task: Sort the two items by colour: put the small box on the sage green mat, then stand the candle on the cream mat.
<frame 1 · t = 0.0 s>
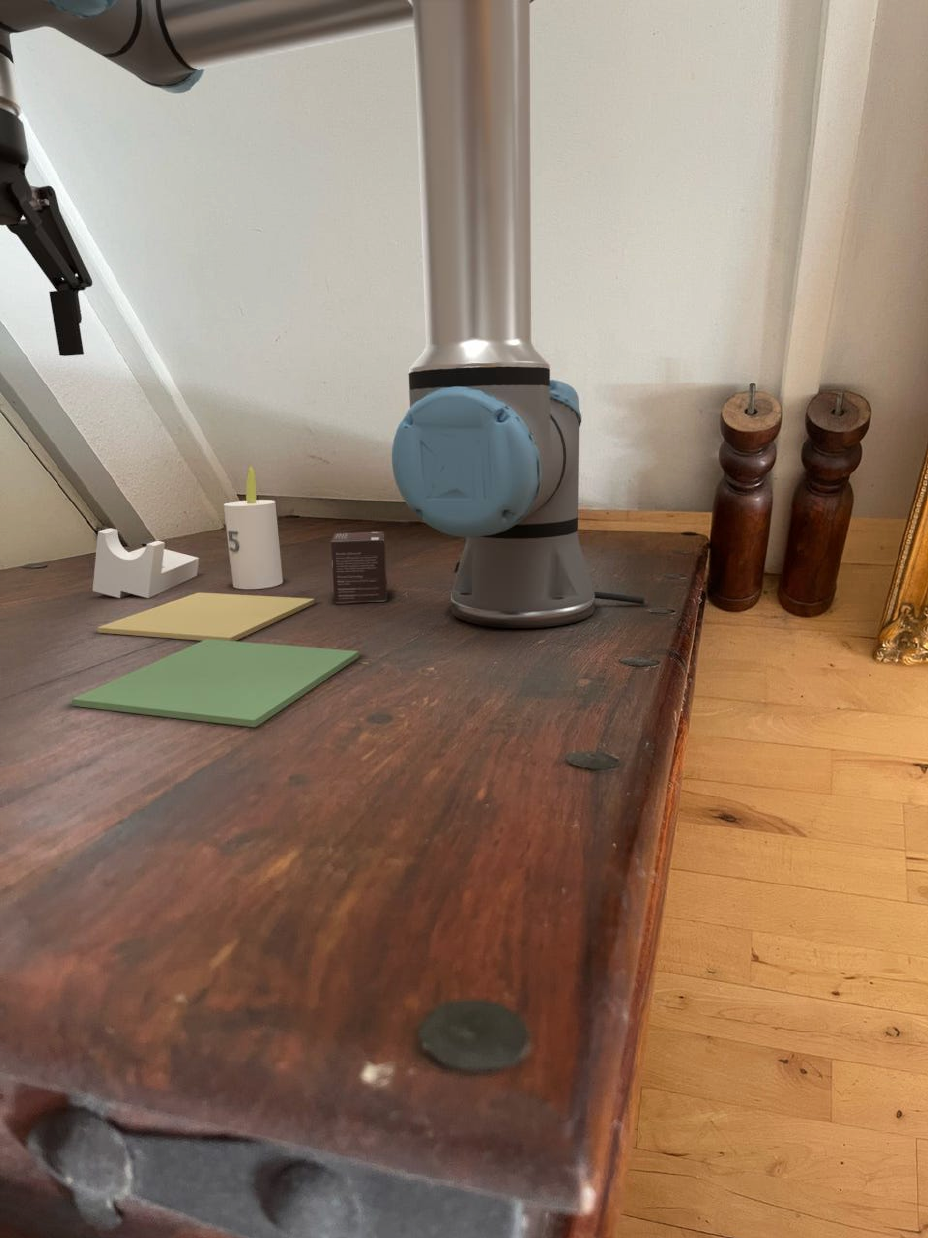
hand: (18, 350, 76), 28 cm above the table, tool pointing down, fingers open, 13 cm apart
cream mat: (213, 617, 81), on the table
green mat: (227, 679, 61), on the table
bracket: (154, 587, 97), on the table
box: (362, 599, 88), on the table
candle: (257, 585, 97), on the table
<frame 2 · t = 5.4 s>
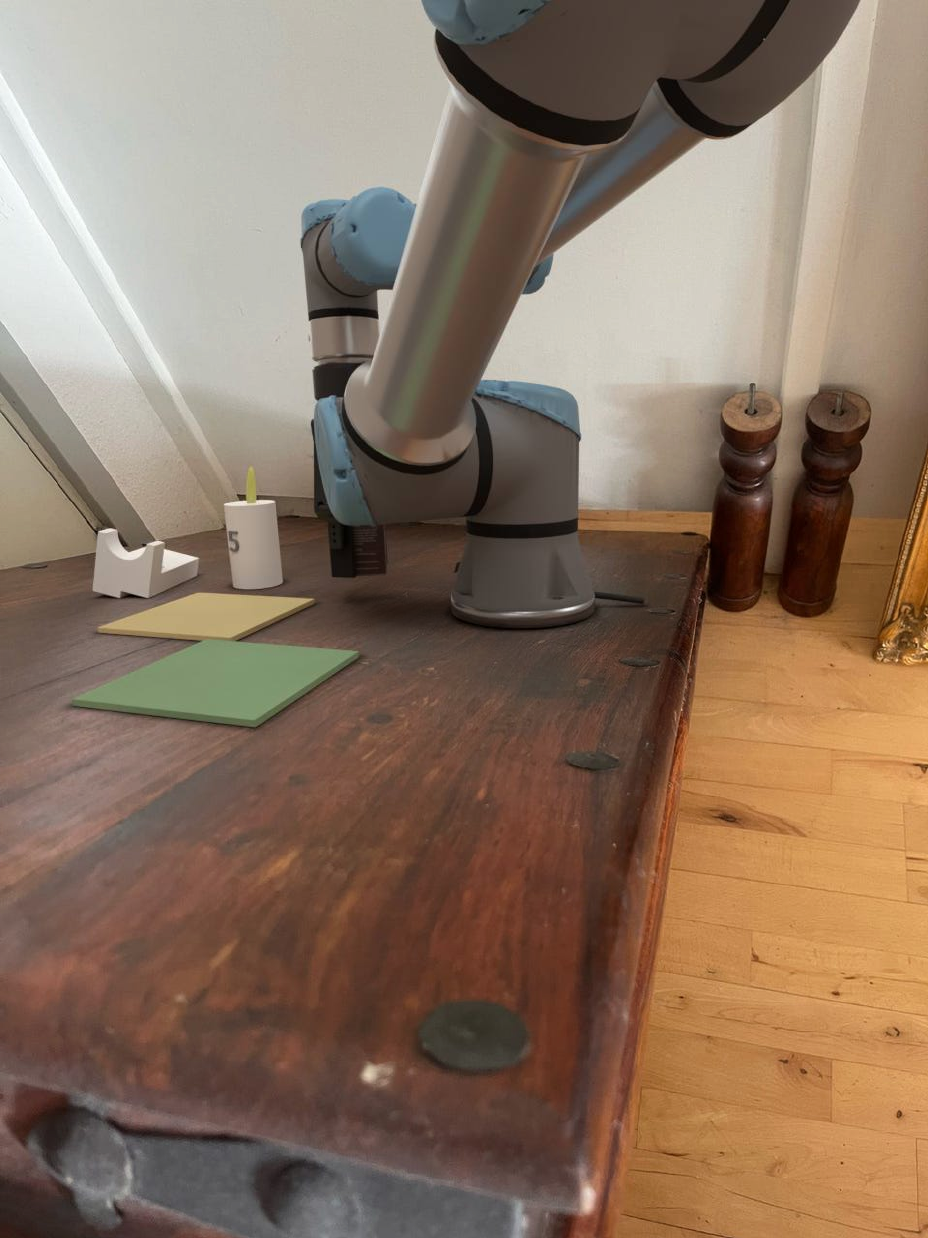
hand: (361, 569, 87), 3 cm above the table, tool pointing down, fingers closed on box, 8 cm apart
box: (361, 573, 87), point 3 cm above the table, touching gripper
everything else where it was.
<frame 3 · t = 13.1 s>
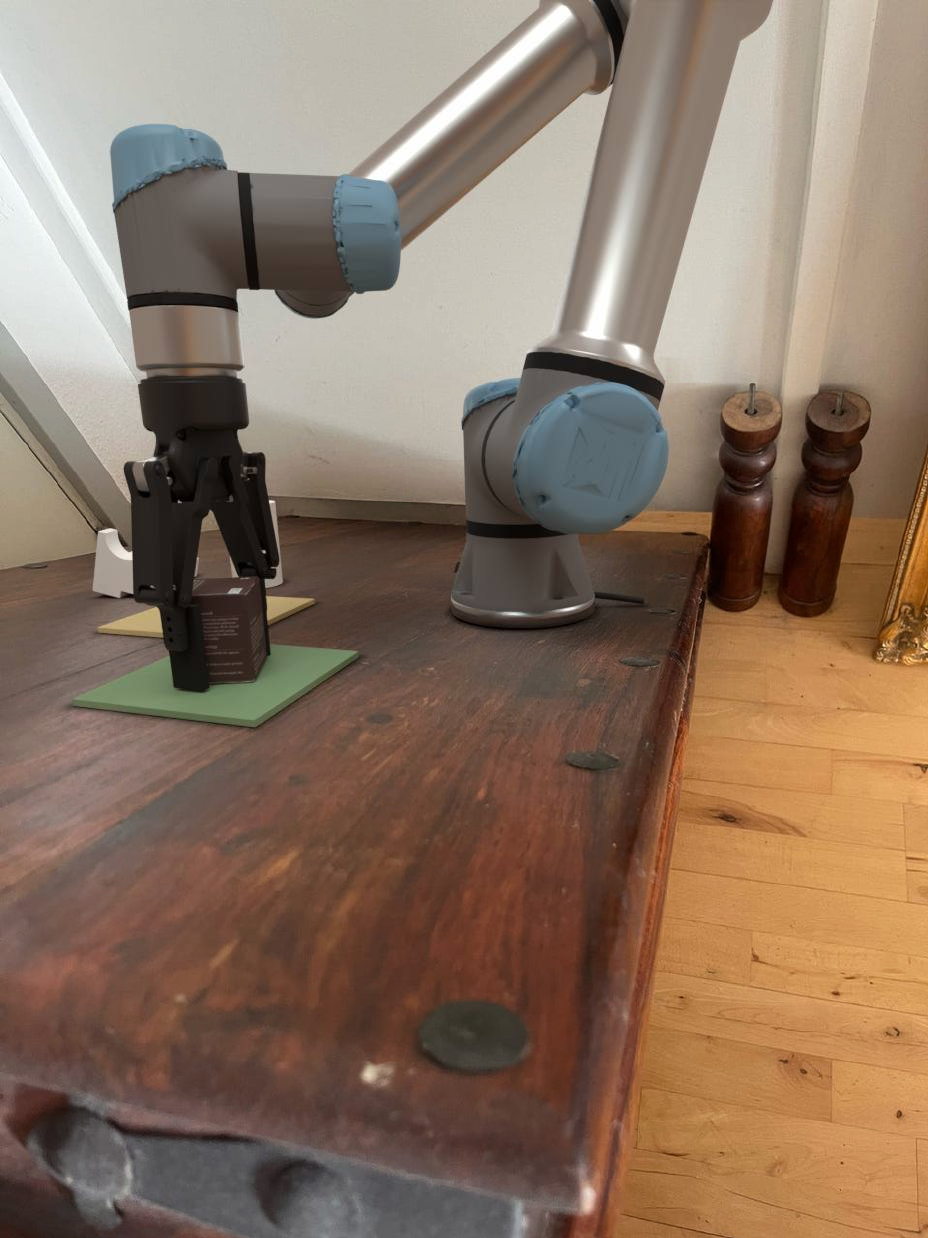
hand: (225, 669, 61), 1 cm above the table, tool pointing down, fingers closed on box, 8 cm apart
box: (225, 675, 61), resting on green mat, touching gripper
everything else where it was.
when the fingers open (2 cm above the table, at t = 19.2 s): box stays where it is, resting on green mat.
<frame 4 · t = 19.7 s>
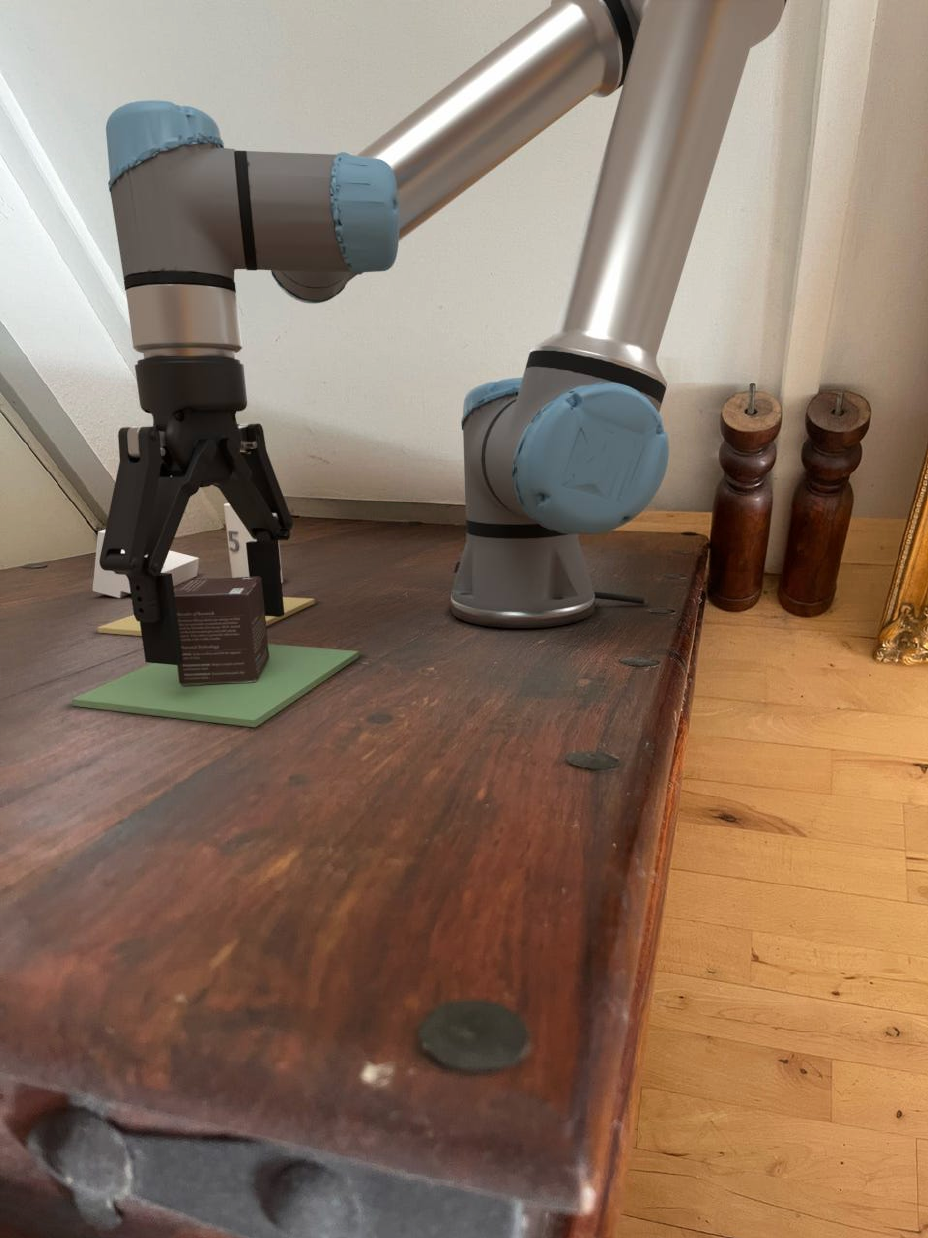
hand: (222, 636, 60), 4 cm above the table, tool pointing down, fingers open, 13 cm apart
box: (227, 675, 61), resting on green mat
everything else where it was.
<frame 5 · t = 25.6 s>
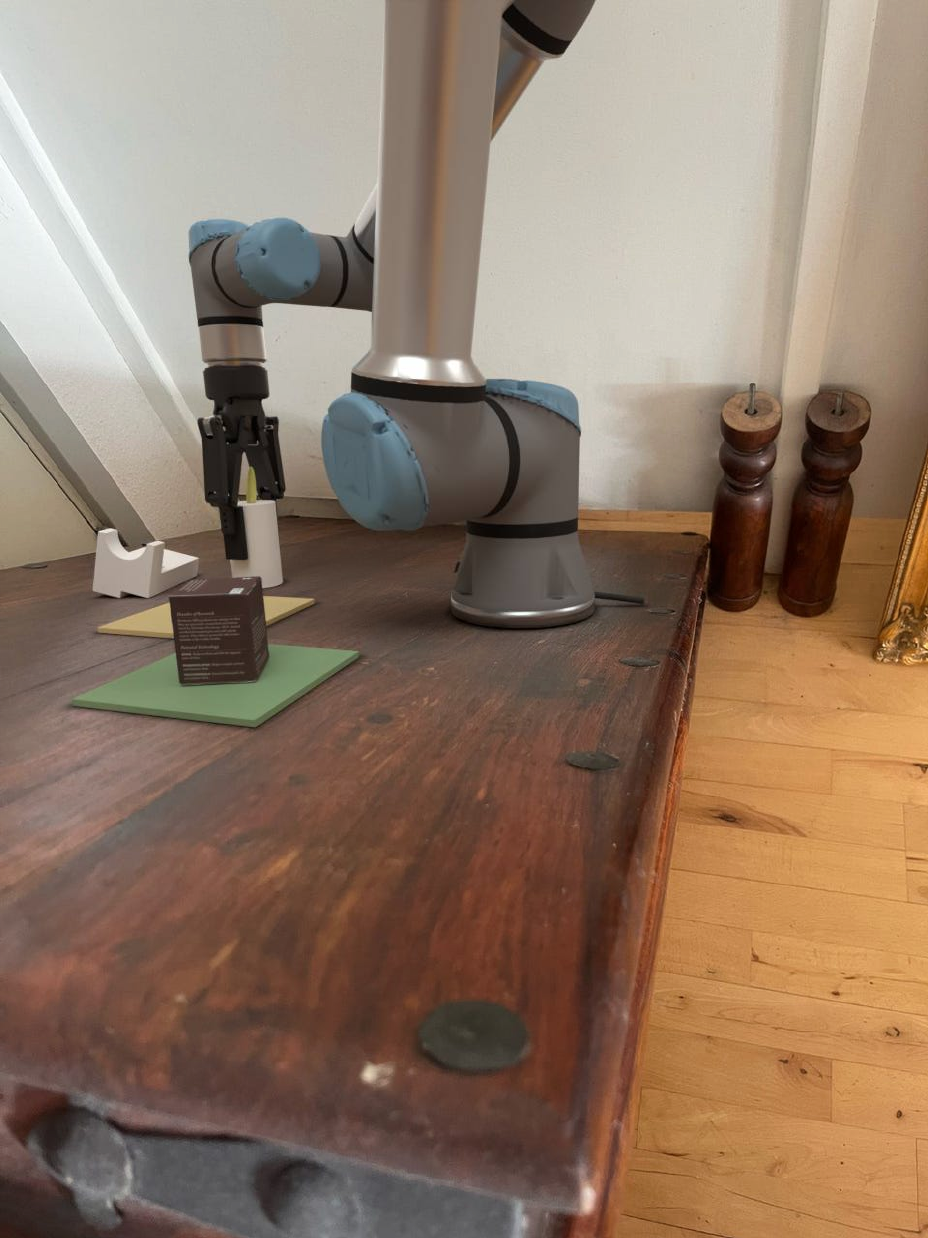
hand: (254, 553, 96), 4 cm above the table, tool pointing down, fingers closed on candle, 7 cm apart
candle: (257, 585, 97), on the table, touching gripper
everything else where it was.
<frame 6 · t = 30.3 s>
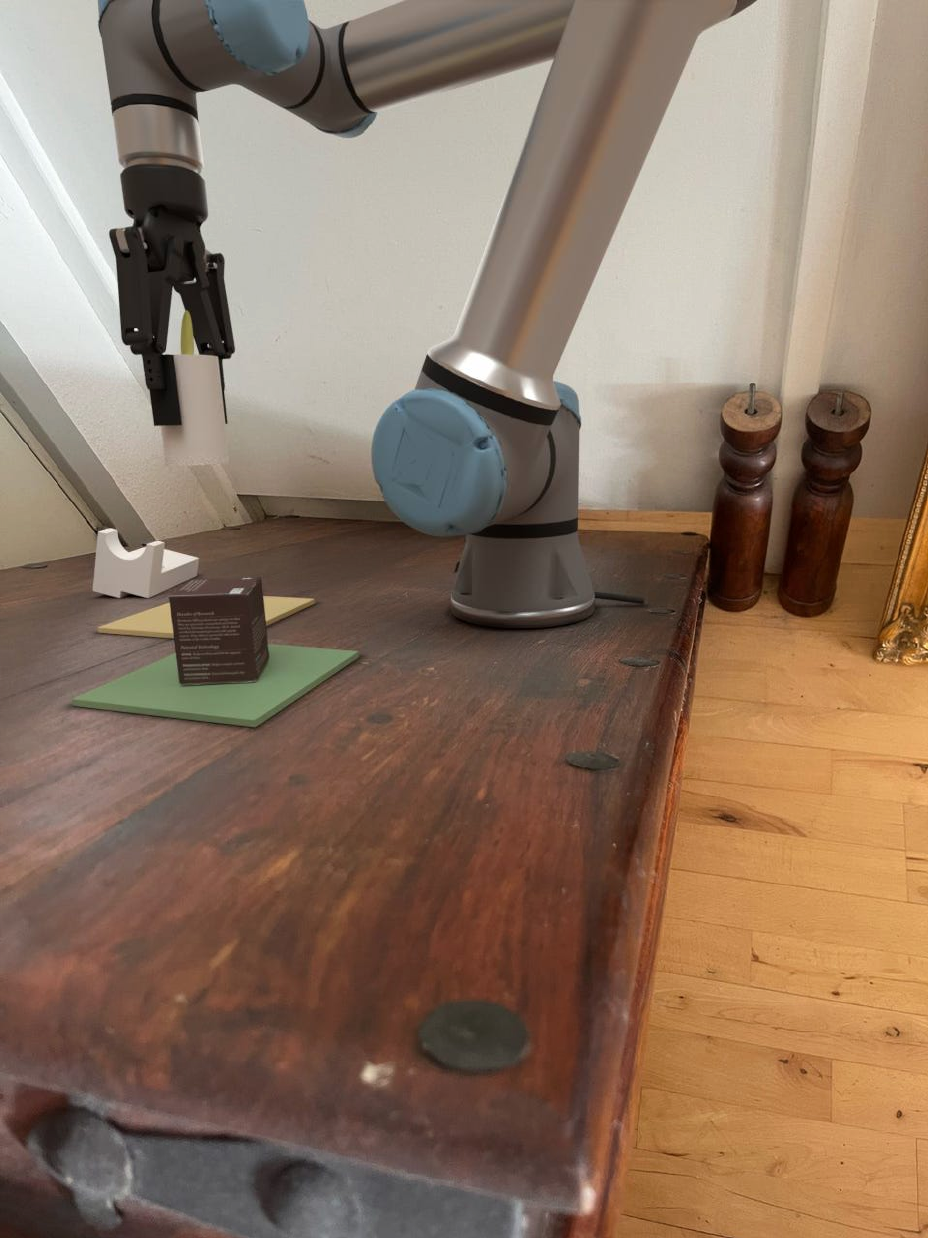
hand: (192, 424, 76), 20 cm above the table, tool pointing down, fingers closed on candle, 7 cm apart
candle: (197, 465, 77), point 16 cm above the table, touching gripper
everything else where it was.
when the fingers open (5 cm above the table, at t = 35.2 s): candle stays where it is, resting on cream mat.
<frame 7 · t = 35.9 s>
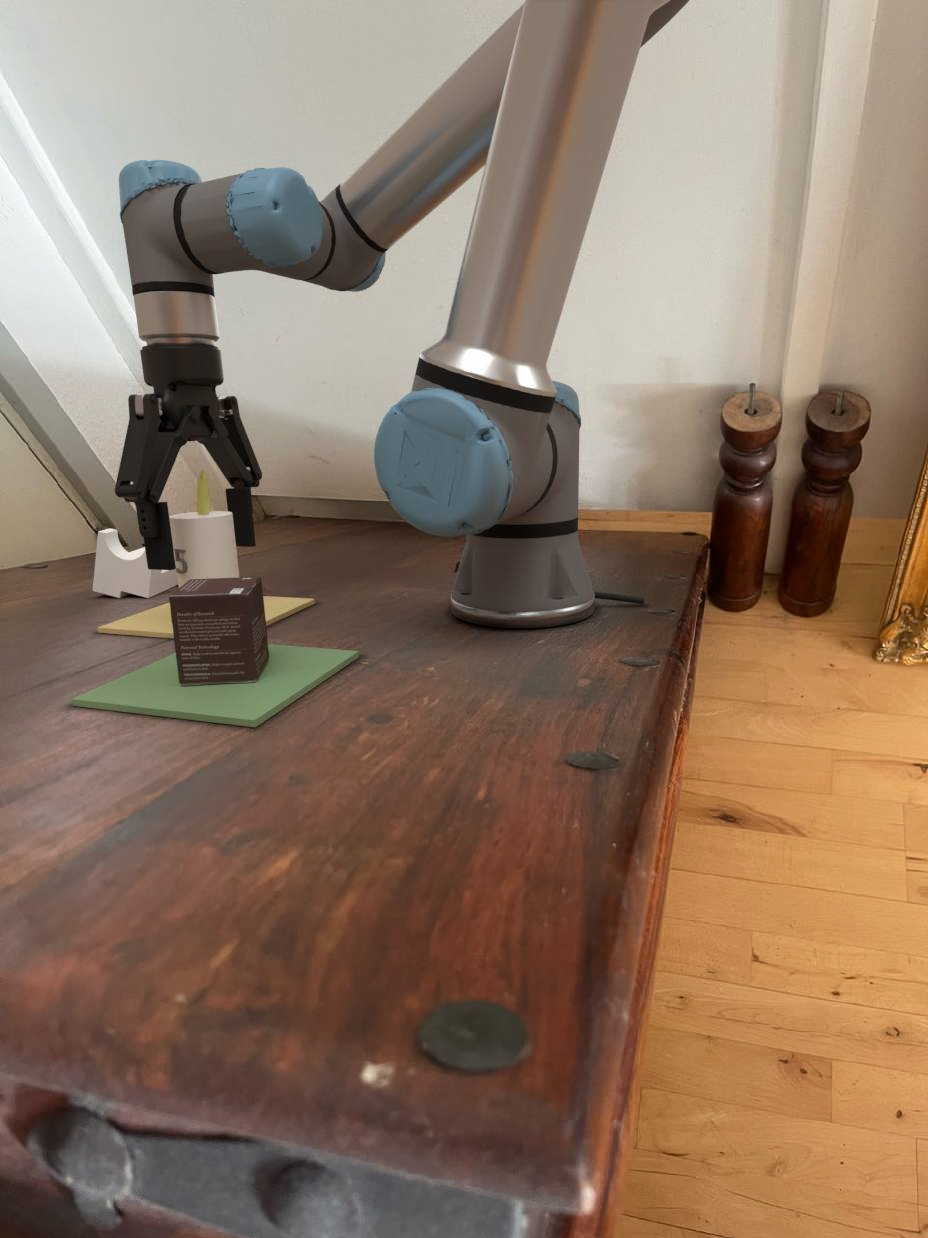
hand: (206, 557, 79), 7 cm above the table, tool pointing down, fingers open, 13 cm apart
candle: (212, 613, 81), resting on cream mat
everything else where it was.
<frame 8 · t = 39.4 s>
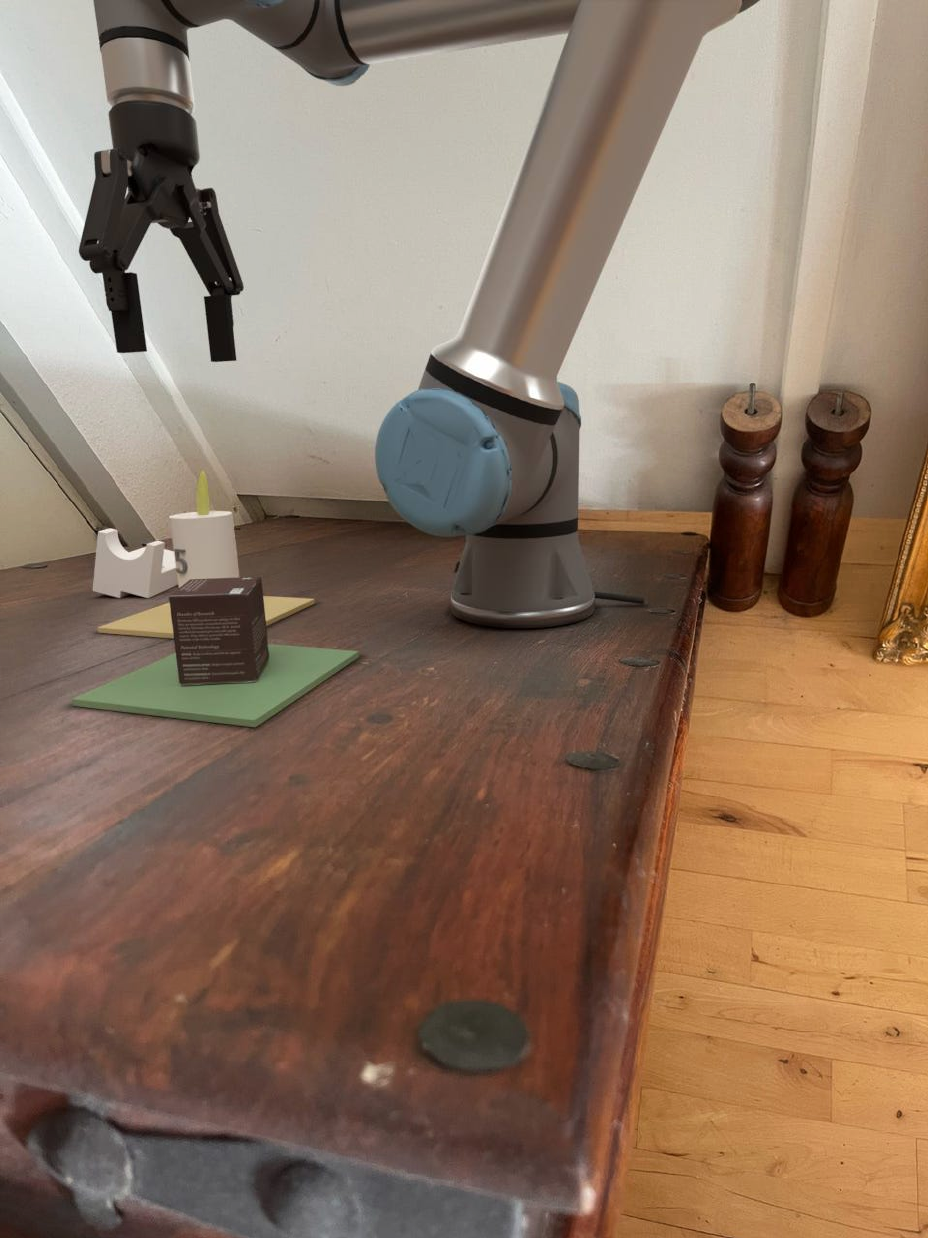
hand: (181, 357, 74), 27 cm above the table, tool pointing down, fingers open, 13 cm apart
nothing on the table moved.
at the end: box inside the target area on the green mat (0.0 cm from its centre), point 0.4 cm above the green mat's base; candle inside the target area on the cream mat (0.1 cm from its centre), point 0.4 cm above the cream mat's base; candle tilted 0° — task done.
